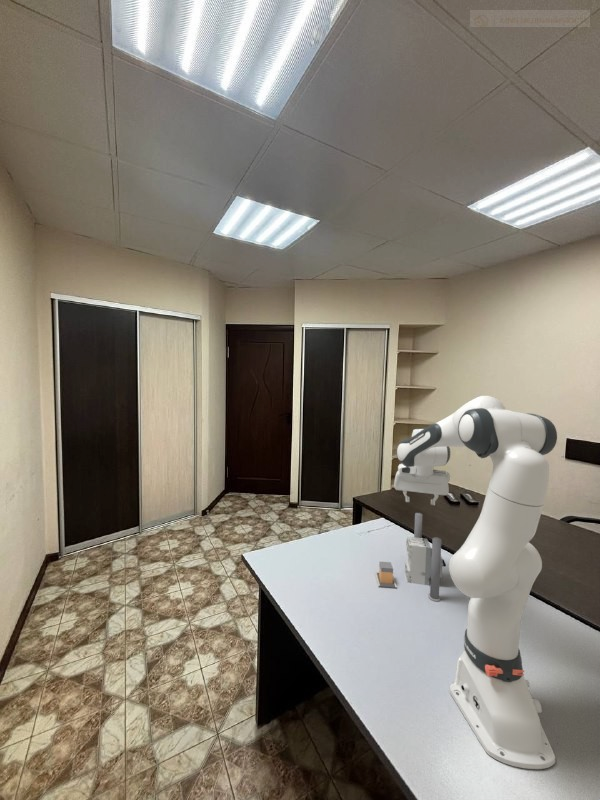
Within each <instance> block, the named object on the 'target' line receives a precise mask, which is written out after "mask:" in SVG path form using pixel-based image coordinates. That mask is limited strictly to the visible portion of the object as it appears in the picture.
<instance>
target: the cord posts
mask: <svg viewBox="0 0 600 800" xmlns="http://www.w3.org/2000/svg"><path fill="white" fill-rule="evenodd" d="M422 530H423V514H422V513H421V512H415V513H414V530H413V531H414V532H413V533H414V534H413V537H415V538H423V537H422V536H423V535H422V533H423V531H422ZM431 541H432V543H431V545H432V546H431V548H432V562H431V576H430V583H429V586H430V588H429V589H430V590H429V593H428V599H429V600H430V601H433V602H436V603H438V602H440V601H441V596H440V582H441V581H440V580H441V578H440V562H441V556H442V539H441V538H440V537H436V536H435V537H432V540H431Z"/></svg>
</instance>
